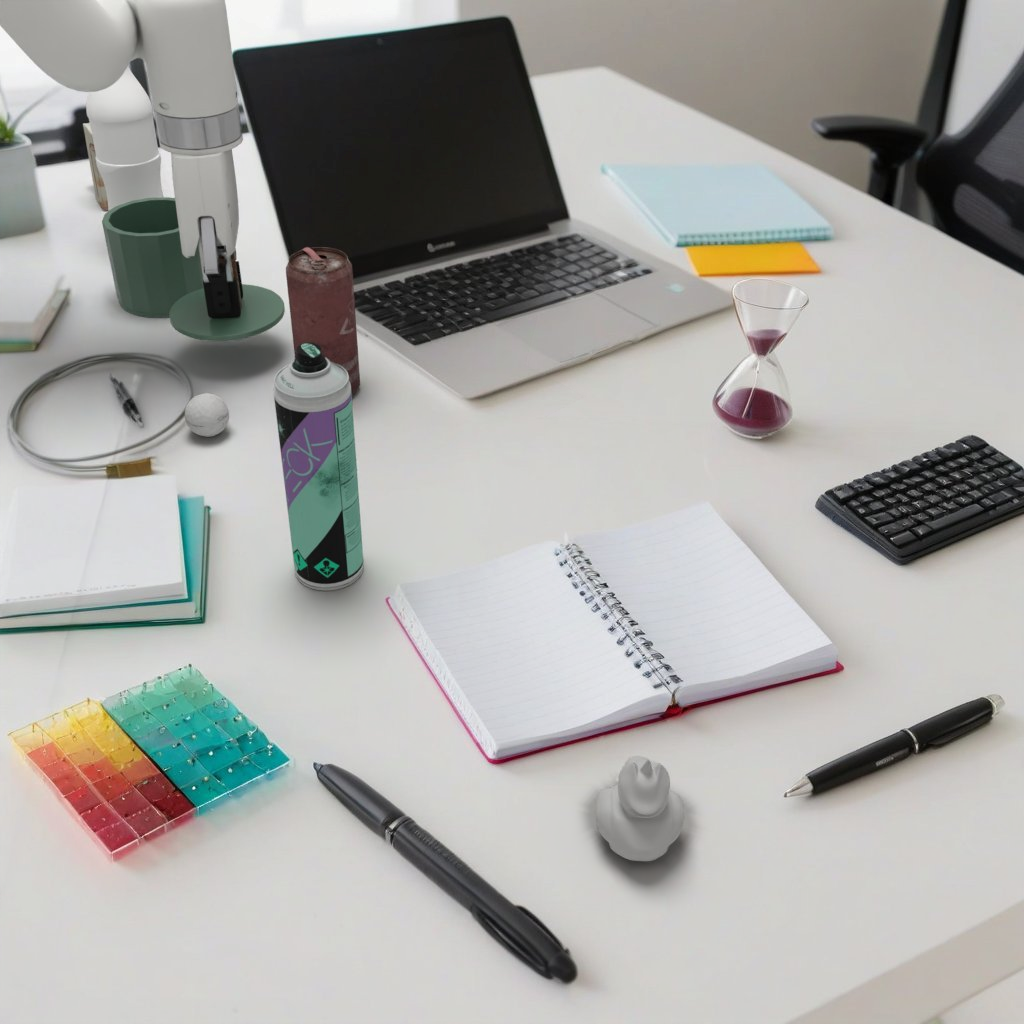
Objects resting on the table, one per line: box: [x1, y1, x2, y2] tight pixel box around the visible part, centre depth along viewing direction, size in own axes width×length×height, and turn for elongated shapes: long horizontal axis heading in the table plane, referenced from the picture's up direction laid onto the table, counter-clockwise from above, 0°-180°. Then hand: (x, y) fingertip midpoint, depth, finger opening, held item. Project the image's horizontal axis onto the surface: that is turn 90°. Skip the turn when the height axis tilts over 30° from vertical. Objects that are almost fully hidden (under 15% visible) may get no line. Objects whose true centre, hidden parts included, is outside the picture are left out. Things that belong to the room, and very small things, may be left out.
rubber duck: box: [594, 755, 685, 862], centre depth 70 cm, size 5×7×8 cm
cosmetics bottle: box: [82, 122, 108, 211], centre depth 148 cm, size 5×4×10 cm
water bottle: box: [85, 66, 165, 212], centre depth 132 cm, size 7×7×25 cm
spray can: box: [272, 343, 364, 592], centre depth 86 cm, size 6×6×20 cm
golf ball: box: [184, 392, 230, 438], centre depth 106 cm, size 4×4×4 cm
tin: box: [101, 196, 204, 319], centre depth 127 cm, size 10×10×10 cm
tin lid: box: [168, 254, 286, 342], centre depth 115 cm, size 11×11×7 cm
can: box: [285, 246, 361, 397], centre depth 110 cm, size 6×6×14 cm
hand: (226, 306), depth 116 cm, fingers closed on tin lid, 3 cm apart
